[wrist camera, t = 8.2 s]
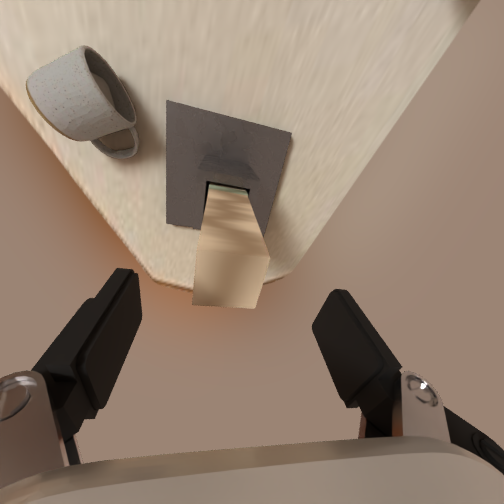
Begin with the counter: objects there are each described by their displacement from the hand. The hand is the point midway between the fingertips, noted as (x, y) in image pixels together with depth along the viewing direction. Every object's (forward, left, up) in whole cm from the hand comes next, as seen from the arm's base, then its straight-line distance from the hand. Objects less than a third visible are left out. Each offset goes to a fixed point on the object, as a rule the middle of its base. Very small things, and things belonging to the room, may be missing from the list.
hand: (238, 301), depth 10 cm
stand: (0, +1, -29) cm, 29 cm away
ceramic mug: (+17, -5, -29) cm, 34 cm away
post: (0, +1, -21) cm, 21 cm away
